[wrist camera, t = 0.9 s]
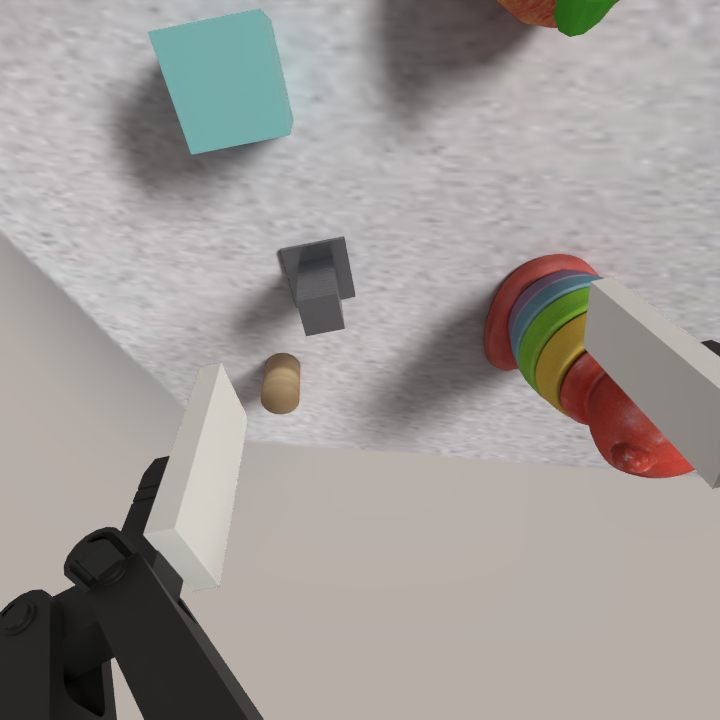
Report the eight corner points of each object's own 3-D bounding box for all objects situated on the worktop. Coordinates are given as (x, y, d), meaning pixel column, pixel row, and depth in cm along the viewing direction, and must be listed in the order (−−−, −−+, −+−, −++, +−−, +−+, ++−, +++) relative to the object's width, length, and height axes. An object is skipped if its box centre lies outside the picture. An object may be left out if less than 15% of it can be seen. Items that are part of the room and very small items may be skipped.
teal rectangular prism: (182, 38, 25) (147, 31, 20) (270, 20, 25) (260, 8, 20) (214, 136, 28) (191, 154, 23) (293, 121, 28) (289, 135, 23)
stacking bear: (486, 369, 41) (585, 541, 26) (474, 271, 35) (591, 420, 21) (603, 338, 40) (771, 497, 26) (609, 233, 35) (830, 359, 20)
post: (280, 248, 33) (274, 288, 27) (344, 236, 33) (351, 273, 27) (296, 305, 36) (293, 352, 30) (355, 294, 36) (363, 339, 30)
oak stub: (261, 356, 38) (256, 388, 34) (295, 350, 38) (294, 381, 34) (271, 383, 40) (267, 417, 36) (303, 377, 40) (303, 410, 36)
